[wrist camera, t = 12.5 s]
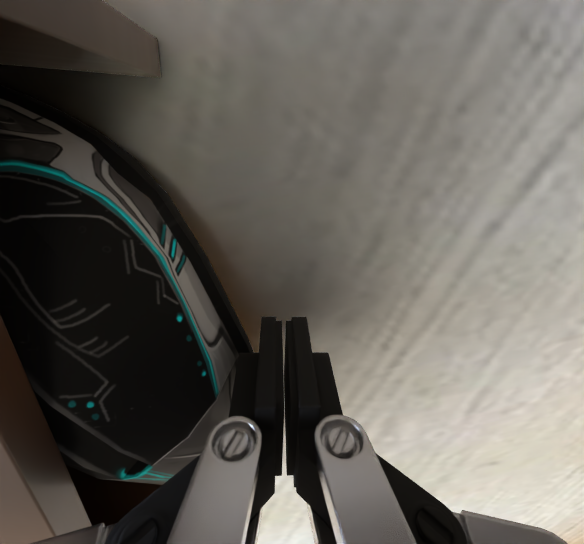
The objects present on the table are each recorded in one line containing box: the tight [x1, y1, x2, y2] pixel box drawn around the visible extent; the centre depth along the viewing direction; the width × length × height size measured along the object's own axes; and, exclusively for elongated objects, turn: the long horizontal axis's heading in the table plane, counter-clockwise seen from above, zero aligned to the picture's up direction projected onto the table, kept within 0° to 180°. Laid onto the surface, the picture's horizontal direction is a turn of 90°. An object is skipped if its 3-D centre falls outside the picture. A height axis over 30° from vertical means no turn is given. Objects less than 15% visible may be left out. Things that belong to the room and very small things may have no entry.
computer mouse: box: [0, 85, 254, 485], centre depth 10 cm, size 9×17×6 cm, turn 31°
